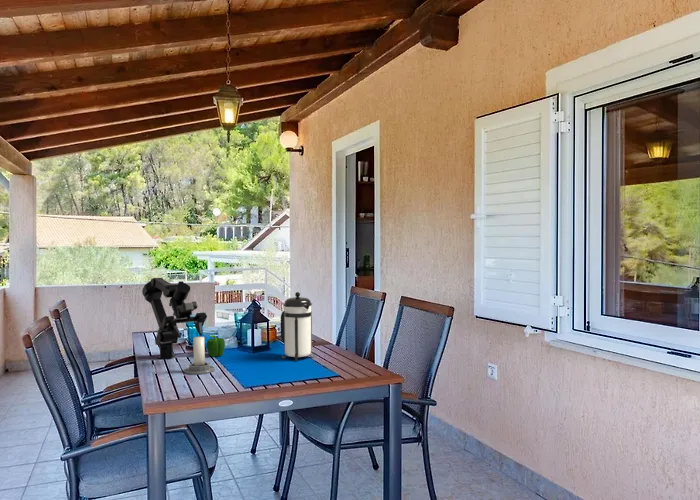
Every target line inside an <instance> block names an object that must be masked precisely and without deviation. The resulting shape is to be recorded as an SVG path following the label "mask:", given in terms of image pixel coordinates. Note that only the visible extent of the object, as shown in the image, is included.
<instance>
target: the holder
mask: <svg viewBox="0 0 700 500" xmlns="http://www.w3.org/2000/svg"><path fill="white" fill-rule="evenodd" d="M215 370H216V369H215V366H213V365H211V364H210V363H209V362H206V361H205V366H199V367H195V366H194V362H193V363H190V364H189V365H188V367H186V368H185V369H184V373H185V374H187V375H192V376H193V375H194V376H195V375H197V376H198V375H206V374H211V373H212V372H214V371H215Z"/></svg>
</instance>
